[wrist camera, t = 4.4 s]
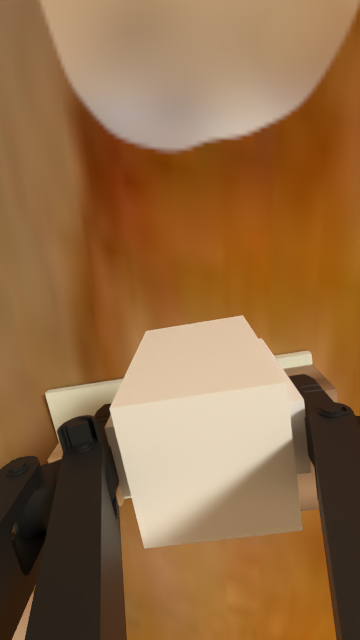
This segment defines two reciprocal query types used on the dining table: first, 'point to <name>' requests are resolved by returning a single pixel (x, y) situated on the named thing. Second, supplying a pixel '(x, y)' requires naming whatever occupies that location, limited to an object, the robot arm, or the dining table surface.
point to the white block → (206, 436)
